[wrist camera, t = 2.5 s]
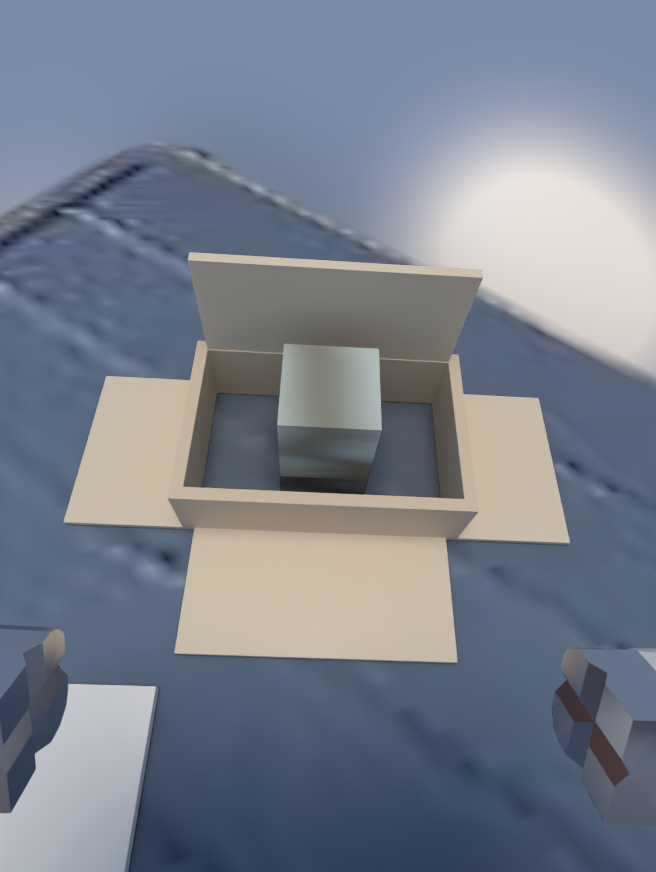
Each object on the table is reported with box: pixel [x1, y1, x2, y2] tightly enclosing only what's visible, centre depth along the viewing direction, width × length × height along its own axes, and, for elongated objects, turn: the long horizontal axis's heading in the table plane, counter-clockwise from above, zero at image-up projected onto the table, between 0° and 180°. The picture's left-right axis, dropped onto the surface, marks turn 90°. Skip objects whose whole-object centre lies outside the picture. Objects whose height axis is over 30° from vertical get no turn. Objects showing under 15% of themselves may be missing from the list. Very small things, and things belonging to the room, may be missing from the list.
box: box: [277, 344, 382, 495], centre depth 27 cm, size 4×4×7 cm
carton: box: [64, 252, 570, 663], centre depth 24 cm, size 26×15×10 cm, turn 89°
